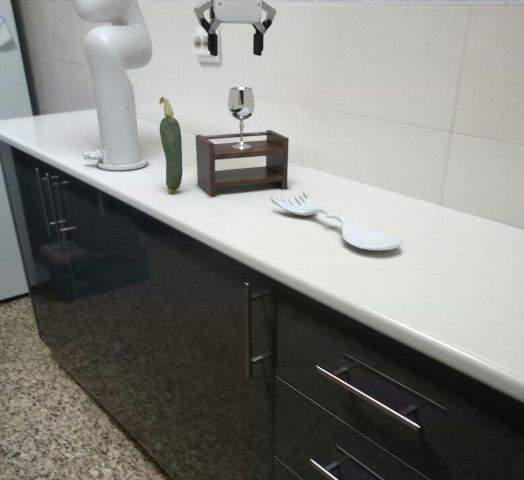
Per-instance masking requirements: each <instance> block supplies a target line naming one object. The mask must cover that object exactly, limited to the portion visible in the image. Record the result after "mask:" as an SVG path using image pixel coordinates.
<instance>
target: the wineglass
mask: <svg viewBox="0 0 524 480" xmlns="http://www.w3.org/2000/svg"><path fill="white" fill-rule="evenodd" d="M227 99H228V100H227V109H228V113H229V115H230V117H232V118H233V119H236V120H238V121H239V124H238V126H239V132H240V133H241V137H240V139H239V140H240V141H238V142H239V143H238V144H236V145H232V147H233V148H236V149H247V148H251V147H252V146H251V145H248V144H245V143H244V142H245V141H244V137H243V133H244V127H245V124H244V121H245V120H248V119H250V118H251V117H252V116H253V115H254V113H255V108H256V107H255V106H256V105H255V104H256V103H255V95H254V91H253V88H252V87H248V86H234V87H230V88H229V93H228V98H227Z"/></svg>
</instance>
